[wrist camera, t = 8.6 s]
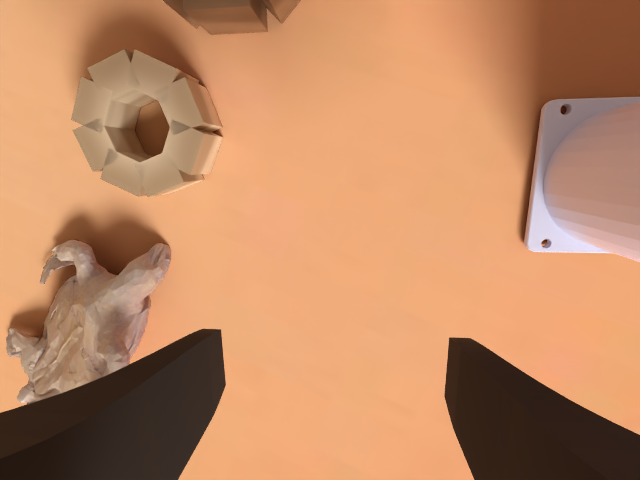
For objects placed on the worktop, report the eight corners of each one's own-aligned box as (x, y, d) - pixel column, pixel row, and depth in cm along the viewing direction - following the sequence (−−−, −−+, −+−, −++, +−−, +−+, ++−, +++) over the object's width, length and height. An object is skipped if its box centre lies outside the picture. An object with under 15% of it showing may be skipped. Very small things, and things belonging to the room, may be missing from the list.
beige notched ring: (189, 46, 19) (164, 28, 16) (238, 166, 20) (222, 166, 17) (88, 96, 20) (50, 86, 17) (140, 205, 21) (112, 211, 19)
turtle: (136, 392, 28) (88, 525, 19) (1, 377, 25) (-130, 527, 16) (182, 229, 24) (148, 303, 15) (28, 187, 21) (-131, 248, 12)
